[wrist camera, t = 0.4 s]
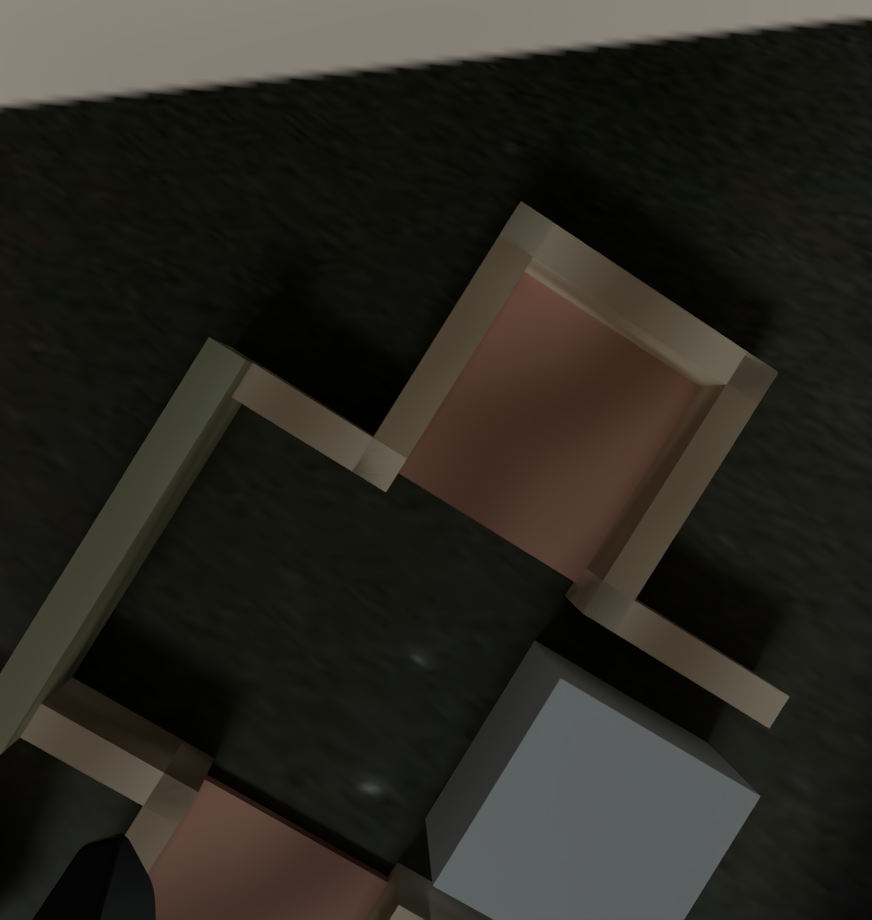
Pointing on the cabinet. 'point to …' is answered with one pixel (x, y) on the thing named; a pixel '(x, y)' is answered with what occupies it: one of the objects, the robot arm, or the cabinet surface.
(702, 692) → the cabinet surface
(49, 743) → the box
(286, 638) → the cabinet surface
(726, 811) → the block
